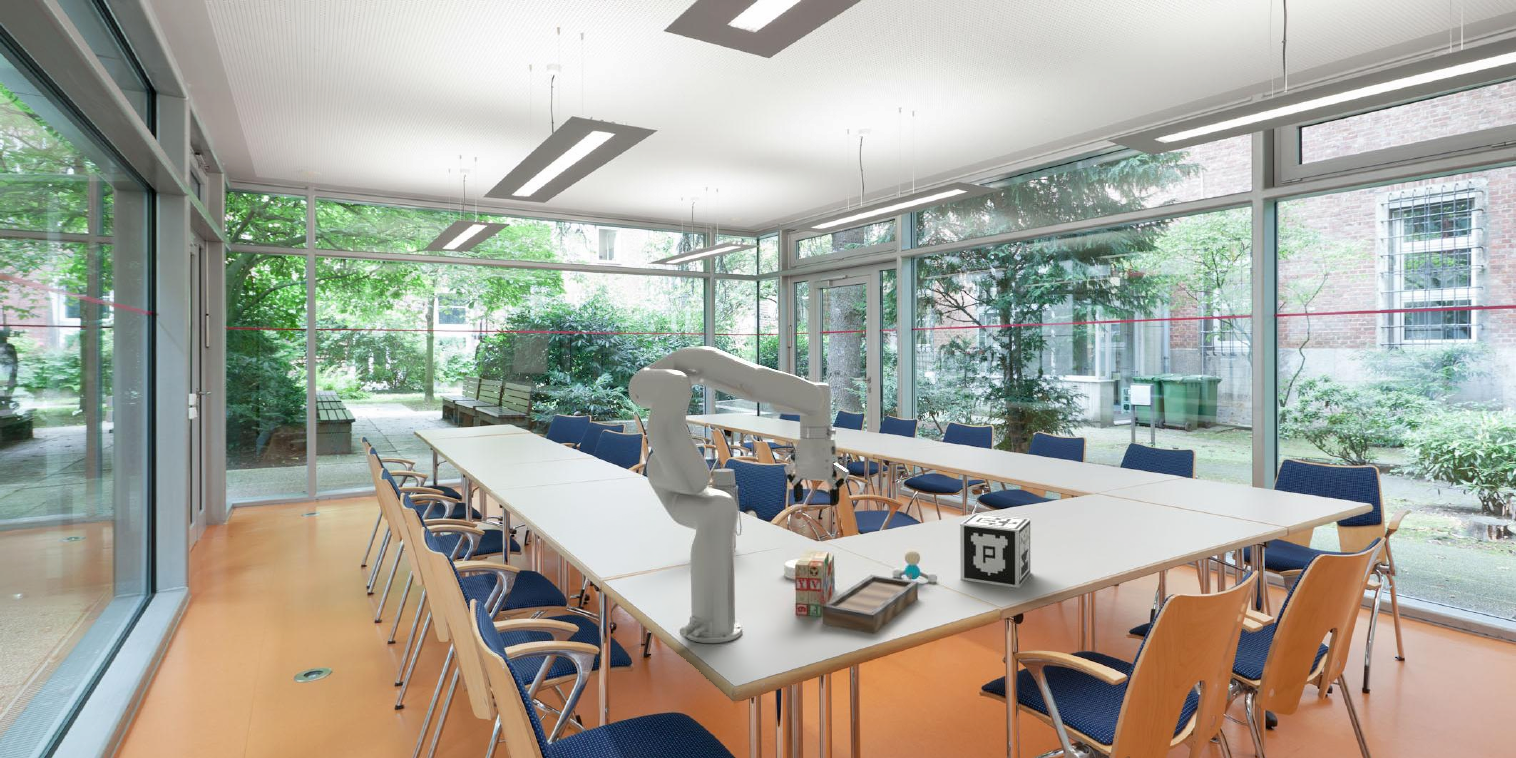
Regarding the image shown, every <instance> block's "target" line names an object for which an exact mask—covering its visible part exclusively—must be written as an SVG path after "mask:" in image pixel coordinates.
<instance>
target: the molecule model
mask: <svg viewBox="0 0 1516 758" xmlns="http://www.w3.org/2000/svg"><path fill="white" fill-rule="evenodd" d="M904 560H905V562H906V564H907V565H906V566H905V569H904V570H902V569H901V568H899V567H895V568H893V569H892V571H891V573H892V576H893V578H895V577H896V578H895V579H900V578H902V576H906V578H905V577H904V578H903V579H902V580H907V581H912V580H917V579H918V578H919V577H922V578H924V579H926V580H927V582H928V583H932V584H933V583H934V584H935V583H936V582H938V581H937V580H938V575H937V574H936V573H934V572H929V573H927V574H926V573H924V572H922V571H921V569H920V567H919V566H918V564H919V563H920V562H921V561H920V560H921V555H920V554H919V552H918V551H916V550H914V549H911V550H908V551H907V552H905V554H904ZM899 577H900V578H899Z"/></svg>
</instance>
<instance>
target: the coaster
mask: <svg viewBox="0 0 1516 758" xmlns="http://www.w3.org/2000/svg"><path fill="white" fill-rule="evenodd" d="M799 559H800V558H798V559H790V560H788V561H786V562H784V565H783V566H784V570H783V571H784V573H783V575H784V577H786V578H787V579H789V580H794V581H795V564H796V562H797V561H798V560H799Z"/></svg>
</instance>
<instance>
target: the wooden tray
mask: <svg viewBox="0 0 1516 758" xmlns="http://www.w3.org/2000/svg"><path fill="white" fill-rule="evenodd" d="M918 583H919V582H918V581H913V580H911V581H907V580H903V579H900V578H895V577H893V578H892V577H885V576H879V575H874V574H873V575H872V574H870V575H869V576H867V577H865V578H864V579H862V580H861V581H859V582H858V583H856V584H855V585H852V586H851V587H850V588H848V589H847V590H845V591H844V592H842V593H840V594H839V595H837V596H835V597H834V598H833V599H830V600H829V602H828V603H826V604H824V605H823V606H822V617H821V618H822V619H821V620H822V624H823V625H830V626H834V627H840V628H844V629H850V630H854V631H860V632H864V633H870V634H875V633H876V632H877V631H879V630H880V629H882V628H883V627H884V626H885V625H886V624H887V623H889V622H890V621H891V620H893V619H894V617H896V616H897V615H899V614H900V613H901V612H902V611H904V609H906V608H907V607H909V606H910V605H911V604H912V603H914V602H915V601H916V600H917V599H918V597H919V594H918V593H919V592H918V588H919V586H918V585H919V584H918Z"/></svg>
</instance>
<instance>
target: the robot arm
mask: <svg viewBox="0 0 1516 758" xmlns="http://www.w3.org/2000/svg"><path fill="white" fill-rule="evenodd" d="M694 385H695V386H696V385H697V386H703V387H707V388H709V389H713V390H714V391H718V392H722V393H724V394H727V395H729V396H732V397H734V398H737V399H739V400H743V401H748V402H754V403H761V404H762V403H764V404H768V405H769V407H770V408H771V409H772V411H774V412H776V413H778V414H782V415H790V416H794V415H795V416H799V438H798V439H797V443H796V447H795V456H794V462H792V463H789V464H787V465H786V466H784V468H783V470H784V473H785V474H786V478H787V479H788V481H789V482H790V483H791V486H793V498H794V503H799V502H802V501H804V486H803V484H802V483H803V481H804V480H807V481H821V482H827V483H828V484H829V486H830V487H831V489H830V490H829V505H830V506H831V507H834V506H837V505H839V502H840V488H841V487H842V486H843V485H844V484H845V483H846V481H847V479H848V477H849V475H850V471H849V470H848V469H846V468H845V467H843V466H842V465H840V464H839V459H838V450H837V444H836V441H835V438H832V436H836V434H837V430H836V429H833V428H832V427H833V426H832V414H831V413H832V412H831V408H832V407H831V406H832V405H831V404H832V403H831V402H832V401H831V399H832V397H831V394H832V393H831V386H830V384H828V383H826V382H812V381H809V380H807V379H804V378H803V377H799V376H797V375H794V374H790V373H788V372H784V371H780V370H776V369H772V368H769V367H767V366H763V365H759V364H756V363H753V362H751V361H748V360H746V359H743V358H742V357H738V356H736V355H733V354H731V353H728V352H726V351H724V350H721V349H719V348H716V347H712V346H708V345H707V346H705V345H703V346H702V345H701V346H685V347H682V348H678V349H677V350H674V351H673V352H671V353H669V354H667V355H665V356H663V357H661V358H660V359H657V360H656V361H654V362H652V363H649V364H648V365H646V366H645V367H642V368H641V369H639V370H638V371H637V372H635V373H634V374H633V376H632V377H631V378H630V380H629V383H628V395H629V397H630V399H631V401H632V402H633V403H634V404H635V405H636V406H638V407H640V408H642V409H649V415H648V418H647V424H646V438H647V442H648V444H649V447H650V448H651V450H652V453H651V454H650V455H649V457H648V459H647V462H646V477H647V479H648V483H649V485H650V486H651V488H652V490H653V491H654V493H655V495H656V496H657V498H658V500H659V501H660V503H661V504H662V506H663V507H664V509H665V510H666V512H667V513H668V515H669V516H670V517H671V519H672V520H673V521H674V522H675V523H677V524H678V525H680V526H683V527H686V528H689V529H693V530H695V536H694V539H693V541H692V543H691V548H690V596H691V597H690V600H691V601H690V603H691V604H690V605H691V613H690V614H691V616H689V622H688V624H687V625H684V626H683V627H680V629H679V632H678V633H679V635H680V636H681V637H682V638H685V637H686V638H687V639H689V640H691V641H693V642H696V643H697V642H698V643H703V644H718V643H719V644H720V643H727V642H730V641H733V640H736V639H737V638H740V636H741V635H742V634H743V625H742V624H741V623H740V622H738V621H736V598H735V597H736V595H735V593H736V591H735V590H736V586H735V585H736V583H735V576H736V575H735V572H736V571H735V570H736V569H735V550H734V541H735V532H736V526H737V525H738V520H739V511H738V503H737V504H736V499H735V500H734V499H733V497H732V496H730V495H729V494H728V493H726V492H724V491H721V490H718V489H714V488H713V487H709V485H710V482H711V478H712V475H711V470H710V466H709V464H708V462H707V461H706V459H705V458H704V457H705V456H704V455H703V454H702V452H701V450H700V449H699V447H698V445H697V444H696V442H695V440H694V438H693V436H692V435H691V433H690V430H689V428H688V425H687V413H688V409H689V406H690V403H691V400H692V397H693V386H694ZM793 469H794V473H793ZM839 473H840V478H839V479H838V477H839Z"/></svg>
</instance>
